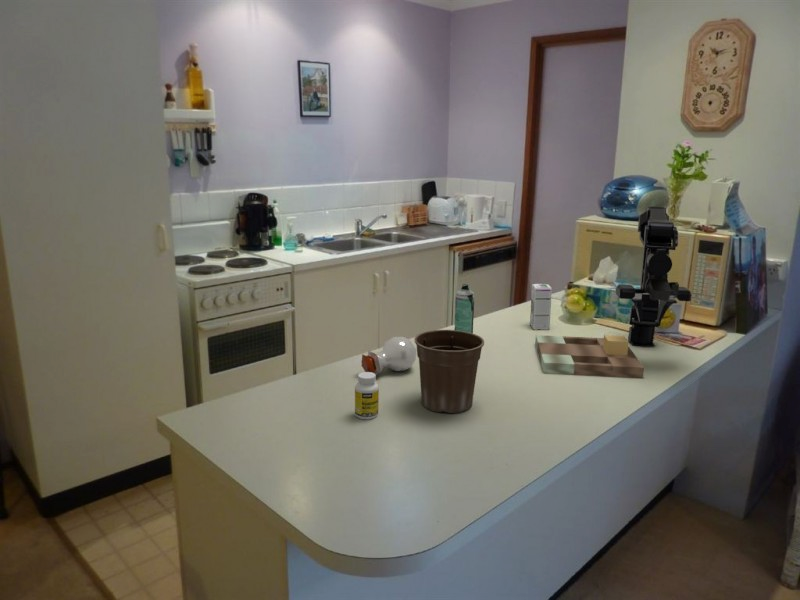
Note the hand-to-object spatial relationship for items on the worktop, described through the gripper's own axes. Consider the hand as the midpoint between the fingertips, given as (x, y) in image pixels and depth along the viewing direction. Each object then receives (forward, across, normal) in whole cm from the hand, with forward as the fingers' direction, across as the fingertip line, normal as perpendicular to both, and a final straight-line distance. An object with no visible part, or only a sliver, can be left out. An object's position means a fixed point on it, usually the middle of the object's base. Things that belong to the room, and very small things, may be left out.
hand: (649, 322), depth 173 cm
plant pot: (+12, -54, -35) cm, 66 cm away
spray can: (+12, -52, +4) cm, 53 cm away
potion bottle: (+12, -70, -17) cm, 74 cm away
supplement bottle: (+12, -72, -44) cm, 86 cm away
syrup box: (+12, -26, +30) cm, 42 cm away
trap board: (+12, -16, 0) cm, 20 cm away
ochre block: (+9, -8, 0) cm, 12 cm away
